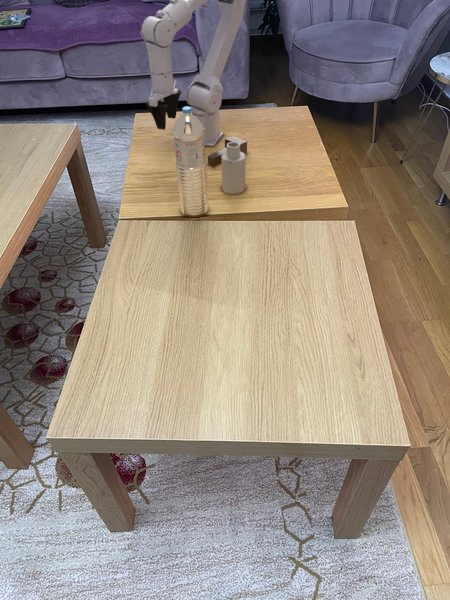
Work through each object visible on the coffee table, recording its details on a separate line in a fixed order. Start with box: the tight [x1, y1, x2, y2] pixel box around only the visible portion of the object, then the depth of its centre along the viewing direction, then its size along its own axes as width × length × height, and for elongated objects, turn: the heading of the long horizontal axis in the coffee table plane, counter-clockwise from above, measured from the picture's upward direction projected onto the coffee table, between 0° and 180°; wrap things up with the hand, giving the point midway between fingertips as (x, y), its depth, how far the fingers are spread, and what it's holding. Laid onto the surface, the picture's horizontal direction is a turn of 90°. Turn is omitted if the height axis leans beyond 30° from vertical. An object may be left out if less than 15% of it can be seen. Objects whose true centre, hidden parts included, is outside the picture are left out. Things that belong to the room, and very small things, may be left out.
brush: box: [207, 135, 248, 168], centre depth 129 cm, size 6×12×4 cm, turn 137°
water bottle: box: [172, 105, 209, 218], centre depth 102 cm, size 7×7×25 cm
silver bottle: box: [220, 142, 247, 195], centre depth 114 cm, size 6×6×12 cm
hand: (166, 123), depth 126 cm, fingers open, 7 cm apart
